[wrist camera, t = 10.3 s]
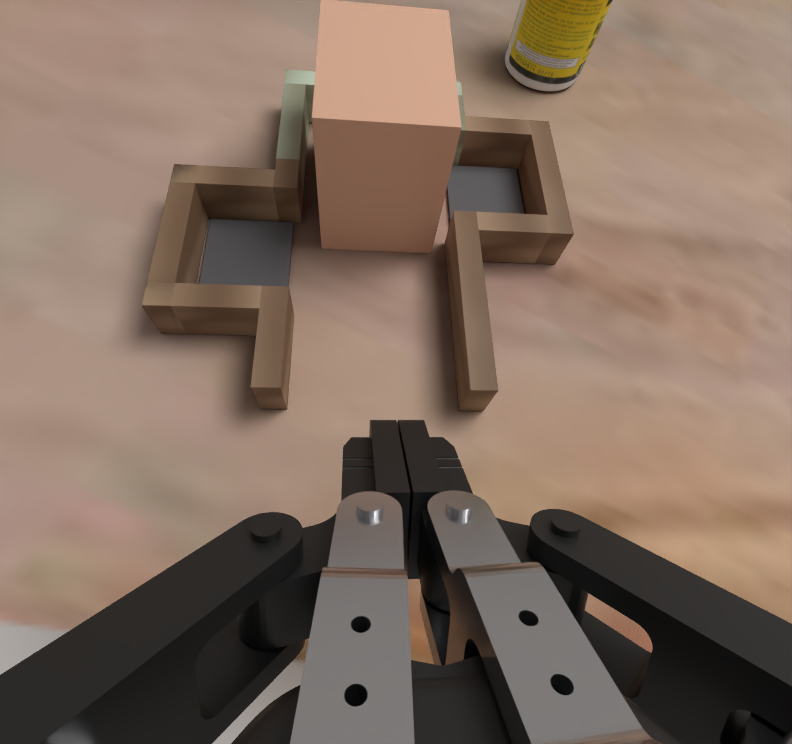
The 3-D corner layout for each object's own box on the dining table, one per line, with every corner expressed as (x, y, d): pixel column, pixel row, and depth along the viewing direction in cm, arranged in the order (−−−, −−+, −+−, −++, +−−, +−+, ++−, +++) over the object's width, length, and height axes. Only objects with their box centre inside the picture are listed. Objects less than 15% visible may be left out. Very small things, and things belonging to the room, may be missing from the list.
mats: (196, 309, 24) (194, 307, 24) (223, 155, 28) (222, 152, 28) (540, 318, 26) (541, 316, 25) (515, 171, 30) (516, 168, 30)
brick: (321, 249, 26) (311, 117, 19) (327, 144, 30) (320, -1, 22) (430, 253, 27) (461, 127, 20) (424, 150, 30) (448, 10, 23)
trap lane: (146, 407, 22) (122, 385, 19) (208, 103, 30) (197, 63, 28) (584, 411, 24) (609, 392, 21) (527, 123, 32) (540, 87, 30)
